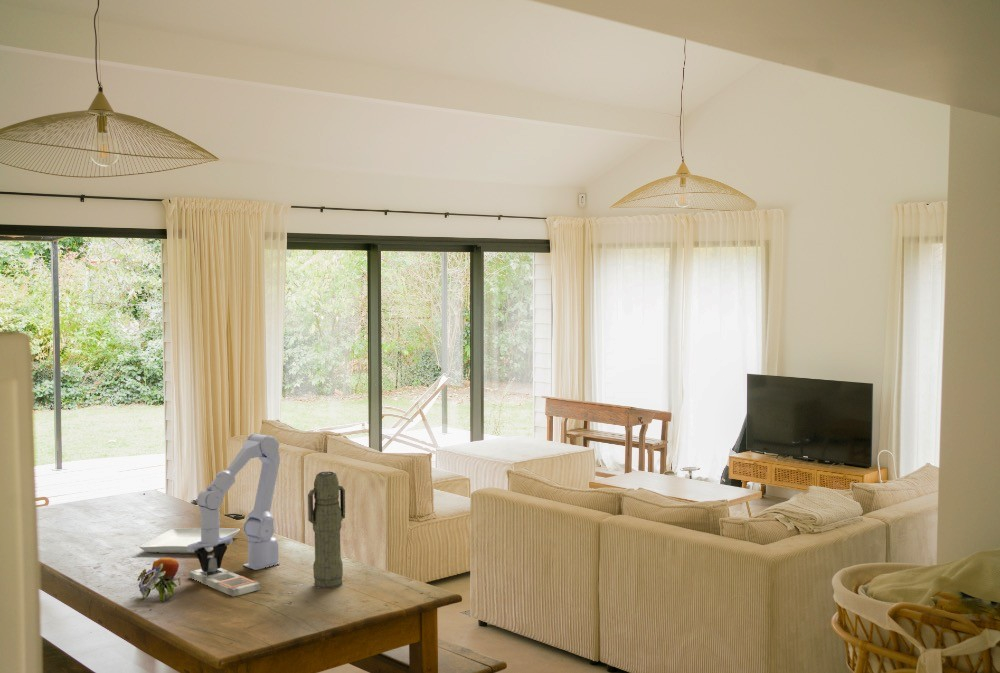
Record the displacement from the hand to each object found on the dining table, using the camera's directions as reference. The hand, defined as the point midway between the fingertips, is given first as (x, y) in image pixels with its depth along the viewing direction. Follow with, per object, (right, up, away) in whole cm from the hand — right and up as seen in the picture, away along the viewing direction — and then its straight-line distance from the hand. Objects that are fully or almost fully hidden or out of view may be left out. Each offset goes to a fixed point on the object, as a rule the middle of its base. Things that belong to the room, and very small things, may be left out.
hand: (211, 569), depth 296 cm
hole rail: (+6, -3, -5) cm, 9 cm away
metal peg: (0, -3, 0) cm, 3 cm away
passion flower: (-10, -4, -18) cm, 21 cm away
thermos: (+39, -3, -7) cm, 40 cm away
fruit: (-15, -3, +1) cm, 15 cm away
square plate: (-20, -2, +41) cm, 46 cm away
